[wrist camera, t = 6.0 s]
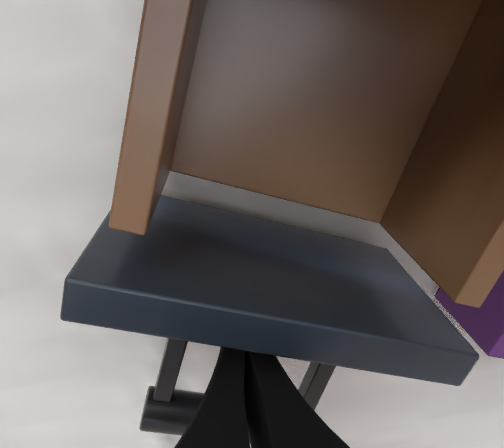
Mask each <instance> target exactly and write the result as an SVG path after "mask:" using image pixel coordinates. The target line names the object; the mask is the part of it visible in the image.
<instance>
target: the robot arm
mask: <svg viewBox="0 0 504 448" xmlns="http://www.w3.org/2000/svg"><path fill="white" fill-rule="evenodd" d="M246 418H247V419H246ZM247 424H248V427H247ZM248 430H249V434H248ZM249 436H250V442H249ZM250 443H251V448H350V447H349V446H348V445H347V444H346V443H345V442H344V441H343V440H341V439H340V438H339V437H338V436H337V435H336V434H335V433H334V432H333V431H332V430H331V429H330V428H329V427H328V426H327V425H326V424H325V422H324V421H323V420H322V419H321V418H320V417H319V416H318V415H317V414H316V412H315V411H314V410H313V409H312V408H311V407H310V405H309V404H308V403H307V402H306V400H305V399H304V398H303V396H302V395H301V394H300V392H299V391H298V390H297V388H296V387H295V386H294V384H293V383H292V381H291V380H290V378H289V377H288V375H287V374H286V372H285V371H284V369H283V367H282V366H281V364H280V363H279V361H278V359H277V357H276V356H274V355H268V354H262V353H256V352H250V351H244V350H238V349H232V348H226V347H221V349H220V353H219V357H218V360H217V363H216V366H215V369H214V372H213V375H212V378H211V380H210V382H209V385H208V387H207V389H206V392H205V394H204V396H203V399H202V401H201V403H200V405H199V407H198V409H197V411H196V412H195V414H194V416H193V418H192V420H191V422H190V423H189V425H188V427H187V429H186V430H185V432H184V434H183V435H182V437H181V438H180V440H179V442H178V443H177V445H176V446H175V448H250Z"/></svg>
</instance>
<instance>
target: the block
mask: <svg viewBox="0 0 504 448" xmlns="http://www.w3.org/2000/svg"><path fill="white" fill-rule="evenodd" d="M435 297H436V299H437V300H438V301H439V302H440V303H441V304H442V305H443V306H444V308H445V309H446V310H447V311H448V312H449V313H450V314H451V315H452V316H453V318H454V319H455V320H456V321H457V322H458V323H459V324H460V325H461V326H462V328H463V329H464V330H465V331H466V332H467V333H468V334H469V335H470V337H471V338H472V339H473V340H474V341H475V342H476V343H477V344H478V345H479V347H480V348H481V349H482V350H483V351H484V352H485V353H486V354H487V355H488V356H492V357H497V358H503V359H504V270H503V272H502V273H501V275H500V277H499V278H498V280H497V281H496V283H495V284H494V286H493V288H492V289H491V291H490V292H489V294H488V296H487V297H486V299H485V300H484V302H483V303H482V305H481V307H479V308H477V307H472V306H468V305H463V304H458V303H455V302H454V301H453V300H452V299H451V298H450V297H449V296H448V295H447V294H446V293H445V292H444V291H443V290H442V289H441V288H440V289H439V290H438V292H437V294H436V296H435Z"/></svg>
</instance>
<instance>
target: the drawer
mask: <svg viewBox="0 0 504 448" xmlns="http://www.w3.org/2000/svg"><path fill="white" fill-rule="evenodd" d="M170 171H173V172H177V173H181V174H185V175H189V176H193V177H197V178H201V179H205V180H209V181H213V182H217V183H221V184H225V185H229V186H233V187H237V188H241V189H245V190H249V191H253V192H257V193H261V194H265V195H269V196H273V197H277V198H281V199H285V200H289V201H293V202H297V203H301V204H305V205H309V206H313V207H317V208H321V209H325V210H329V211H333V212H337V213H340V214H344V215H348V216H352V217H356V218H360V219H364V220H368V221H372V222H376V223H380V225H381V226H382V227H383V228H384V229H385V230H386V231H387V232H388V233H389V234H390V235H391V236H392V237H393V238H394V239H395V241H396V242H397V243H398V244H399V245H400V246H401V247H402V248H403V249H404V250H405V251H406V252H407V253H408V254H409V255H410V256H411V257H412V258H413V259H414V260H415V262H416V263H417V264H418V265H419V266H420V267H421V268H422V269H423V270H424V271H425V272H426V273H427V274H428V275H429V276H430V277H431V278H432V279H433V280H434V281H435V282H436V284H437V285H438V286H439V287H440V288H441V289H442V290H443V291H444V292H445V293H446V294H447V295H448V296H449V297H450V298H451V299H452V300H453V301H454V302H455V303H458V304H463V305H468V306H472V307H477V308H479V307H481V305H482V303H483V302H484V300H485V299H486V297H487V296H488V294H489V292H490V291H491V289H492V288H493V286H494V284H495V283H496V281H497V280H498V278H499V277H500V275H501V273H502V272H503V270H504V0H144V7H143V13H142V19H141V25H140V32H139V38H138V44H137V50H136V57H135V63H134V69H133V75H132V82H131V88H130V94H129V100H128V107H127V113H126V119H125V125H124V132H123V138H122V144H121V150H120V157H119V163H118V169H117V175H116V182H115V188H114V194H113V200H112V207H111V210H110V212H109V213H108V215H107V216H106V218H105V219H104V221H103V222H102V224H101V225H100V227H99V228H98V230H97V232H96V233H95V235H94V236H93V238H92V239H91V241H90V242H89V244H88V245H87V247H86V248H85V250H84V251H83V253H82V254H81V256H80V257H79V259H78V260H77V262H76V263H75V265H74V266H73V268H72V269H71V271H70V272H69V274H68V275H67V277H66V278H65V282H64V290H63V298H62V307H61V315H60V316H61V319H62V320H63V321H69V322H75V323H81V324H88V325H94V326H100V327H106V328H112V329H118V330H124V331H130V332H136V333H142V334H148V335H154V336H160V337H166V338H168V339H167V343H166V346H165V350H164V354H163V358H162V362H161V366H160V370H159V374H158V377H157V381H156V385H155V386H150V387H149V388H148V391H147V395H146V399H145V404H144V408H143V413H142V417H141V422H140V430H141V431H147V432H155V433H164V434H172V435H181V436H182V435H183V434H184V432H185V430H186V429H187V427H188V425H189V423H190V422H191V420H192V418H193V416H194V414H195V412H196V411H197V409H198V407H199V405H200V403H201V401H202V399H203V396H204V394H205V393H198V392H191V391H184V390H177V389H174V388H175V385H176V381H177V378H178V374H179V371H180V367H181V364H182V360H183V357H184V353H185V350H186V346H187V343H188V341H190V342H196V343H202V344H208V345H214V346H220V347H226V348H232V349H238V350H244V351H250V352H256V353H262V354H268V355H274V356H280V357H286V358H293V359H299V360H305V361H311V363H310V365H309V368H308V370H307V372H306V374H305V376H304V379H303V381H302V383H301V385H300V387H299V390H298V391H299V392H300V394H301V395H302V396H303V398H304V399H305V400H306V402H307V403H308V404H309V405H310V407H311V408H312V409H313V410H315V408H316V406H317V404H318V402H319V400H320V397H321V395H322V393H323V391H324V389H325V387H326V385H327V383H328V381H329V379H330V377H331V375H332V373H333V371H334V369H335V367H336V366H341V367H347V368H353V369H359V370H365V371H371V372H377V373H383V374H389V375H395V376H401V377H407V378H413V379H419V380H425V381H431V382H437V383H443V384H449V385H455V386H460V385H461V384H462V382H463V381H464V379H465V378H466V376H467V375H468V373H469V372H470V371H471V369H472V368H473V366H474V365H475V363H476V362H477V360H478V359H479V354H478V353H477V352H476V351H475V350H474V348H473V347H472V346H471V345H470V344H469V343H468V341H467V340H466V339H465V338H464V337H463V336H462V335H461V333H460V332H459V331H458V330H457V329H456V328H455V327H454V325H453V324H452V323H451V322H450V321H449V320H448V319H447V317H446V316H445V315H444V314H443V313H442V312H441V310H440V309H439V308H438V307H437V306H436V305H435V304H434V302H433V301H432V300H431V299H430V298H429V297H428V296H427V294H426V293H425V292H424V291H423V290H422V289H421V287H420V286H419V285H418V284H417V283H416V282H415V281H414V279H413V278H412V277H411V276H410V275H409V274H408V273H407V271H406V270H405V269H404V268H403V267H402V266H401V264H400V263H399V262H398V261H397V260H396V259H395V258H394V256H393V255H392V254H391V253H390V252H389V251H388V250H387V249H385V248H381V247H377V246H373V245H369V244H364V243H360V242H356V241H352V240H348V239H343V238H339V237H335V236H331V235H327V234H322V233H318V232H314V231H310V230H306V229H301V228H297V227H293V226H289V225H285V224H280V223H276V222H272V221H268V220H264V219H259V218H255V217H251V216H247V215H243V214H238V213H234V212H230V211H226V210H221V209H217V208H213V207H209V206H205V205H200V204H196V203H192V202H188V201H184V200H179V199H175V198H171V197H167V196H163V195H161V193H162V190H163V188H164V185H165V183H166V180H167V177H168V175H169V172H170ZM246 419H247V418H246ZM247 427H248V424H247ZM248 434H249V430H248ZM249 442H250V436H249ZM250 444H251V443H250Z"/></svg>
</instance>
